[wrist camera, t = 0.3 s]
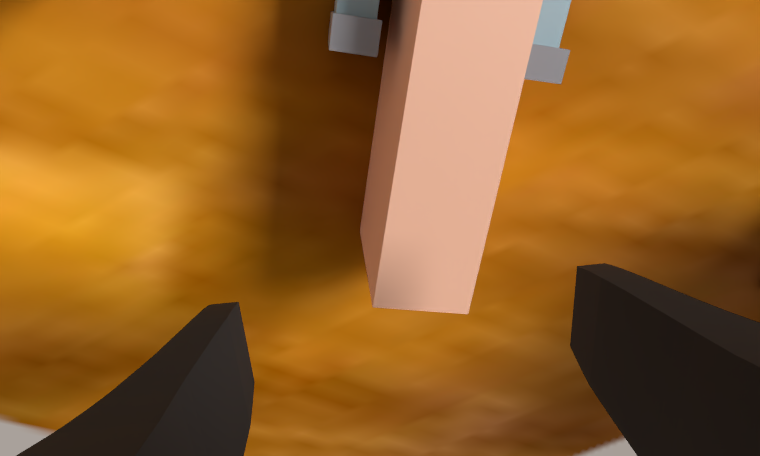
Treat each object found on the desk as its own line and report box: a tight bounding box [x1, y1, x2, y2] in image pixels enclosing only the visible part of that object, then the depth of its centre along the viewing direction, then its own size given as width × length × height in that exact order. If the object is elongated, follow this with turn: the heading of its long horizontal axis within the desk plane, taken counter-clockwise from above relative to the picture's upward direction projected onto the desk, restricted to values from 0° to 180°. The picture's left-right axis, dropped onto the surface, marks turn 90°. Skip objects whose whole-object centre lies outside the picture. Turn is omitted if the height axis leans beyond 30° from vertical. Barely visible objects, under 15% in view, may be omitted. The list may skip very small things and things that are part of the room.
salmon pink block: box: [360, 0, 543, 314], centre depth 17 cm, size 3×12×6 cm, turn 172°
